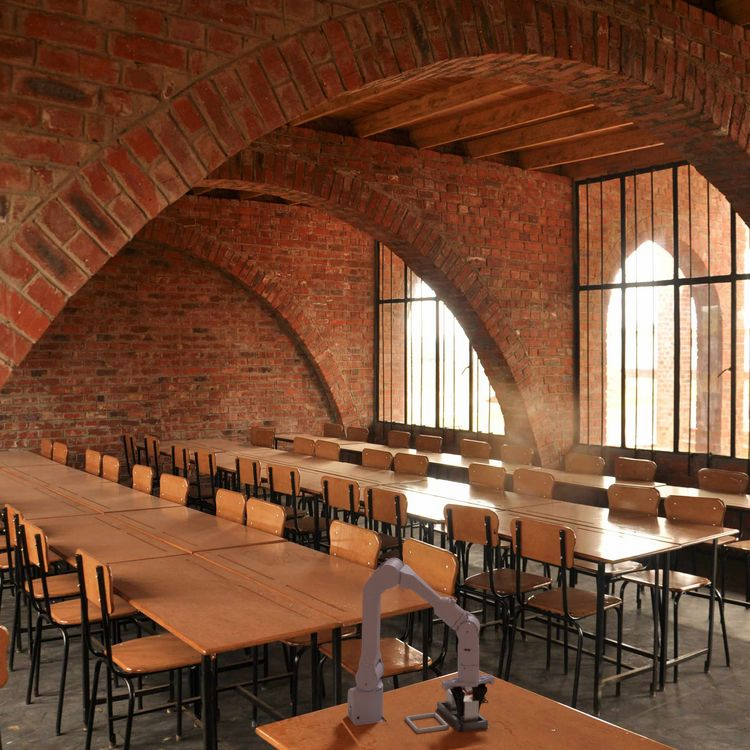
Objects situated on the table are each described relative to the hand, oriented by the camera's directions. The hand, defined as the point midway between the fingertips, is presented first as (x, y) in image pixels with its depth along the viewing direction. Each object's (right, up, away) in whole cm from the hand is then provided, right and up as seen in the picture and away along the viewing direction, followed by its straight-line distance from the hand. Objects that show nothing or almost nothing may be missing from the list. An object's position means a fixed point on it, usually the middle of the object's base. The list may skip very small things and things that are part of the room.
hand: (468, 713), depth 222 cm
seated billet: (-3, -3, +8) cm, 8 cm away
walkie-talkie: (+2, -5, +23) cm, 24 cm away
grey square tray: (-11, -4, 0) cm, 12 cm away
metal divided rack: (-1, -4, +4) cm, 6 cm away
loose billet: (0, -2, 0) cm, 2 cm away
